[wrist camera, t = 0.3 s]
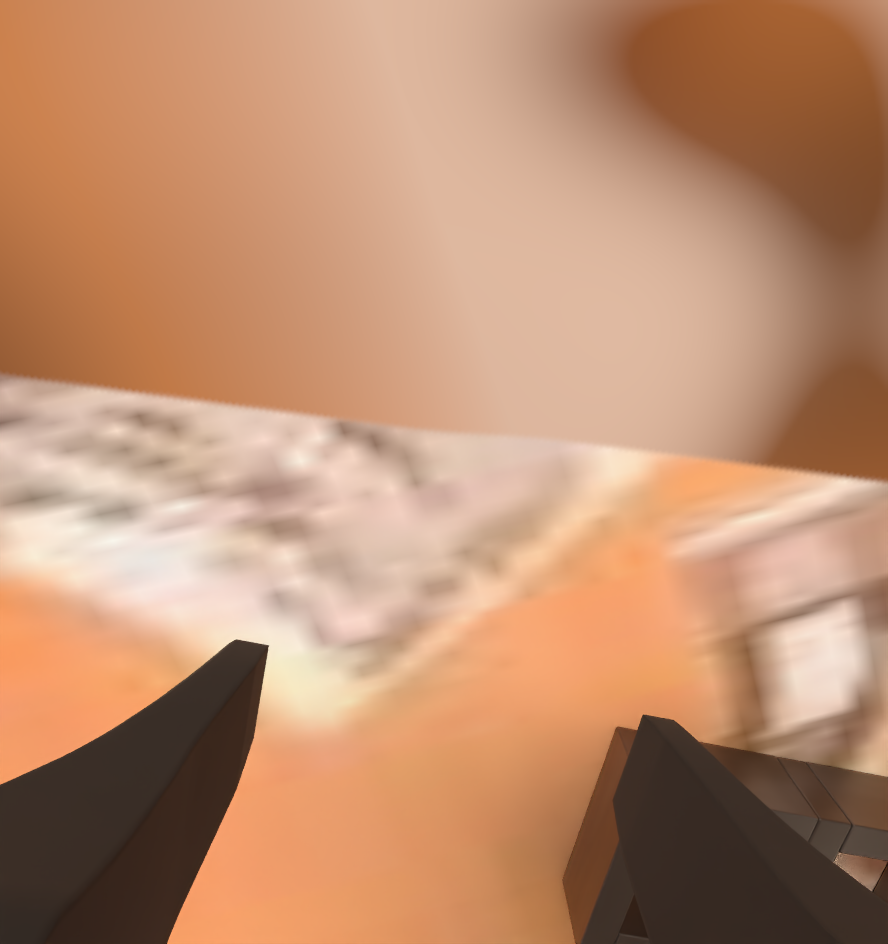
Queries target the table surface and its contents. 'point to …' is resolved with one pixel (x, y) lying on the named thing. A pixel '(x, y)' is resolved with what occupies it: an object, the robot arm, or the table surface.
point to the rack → (770, 779)
